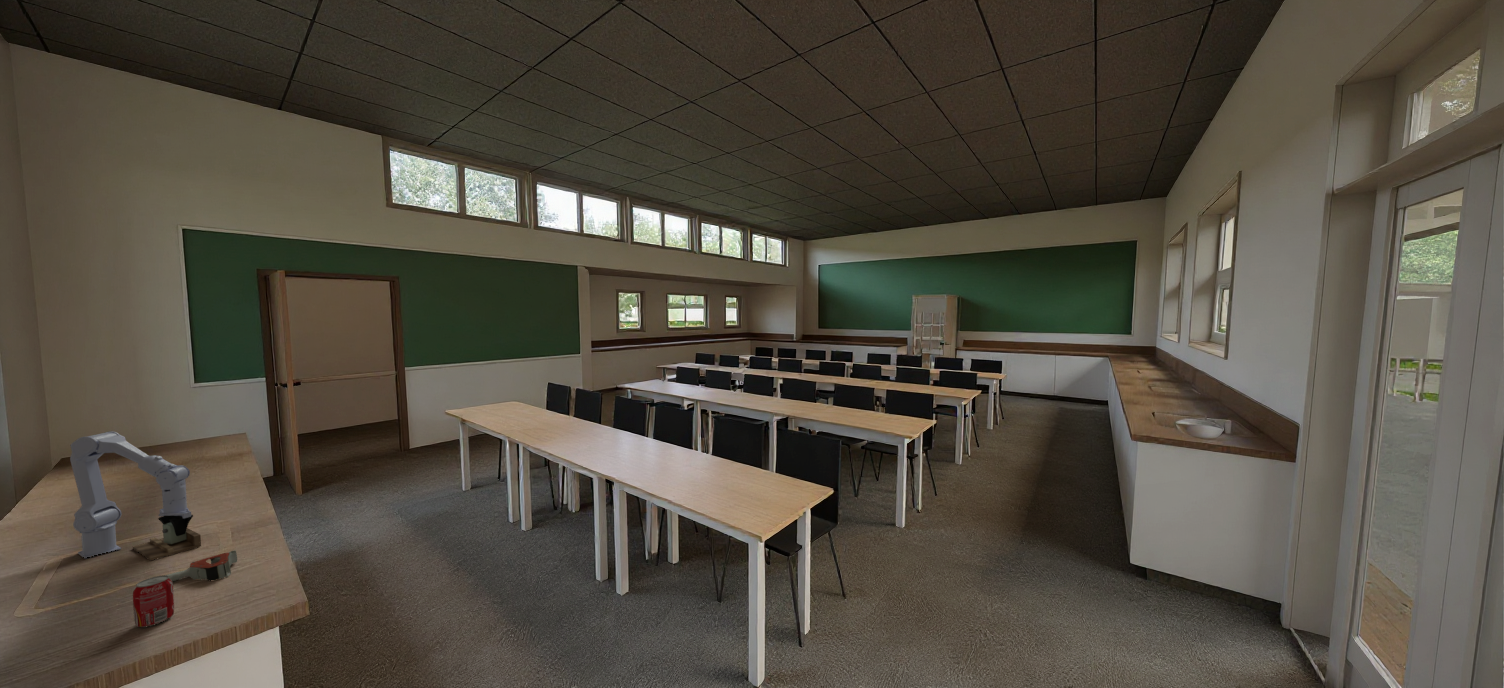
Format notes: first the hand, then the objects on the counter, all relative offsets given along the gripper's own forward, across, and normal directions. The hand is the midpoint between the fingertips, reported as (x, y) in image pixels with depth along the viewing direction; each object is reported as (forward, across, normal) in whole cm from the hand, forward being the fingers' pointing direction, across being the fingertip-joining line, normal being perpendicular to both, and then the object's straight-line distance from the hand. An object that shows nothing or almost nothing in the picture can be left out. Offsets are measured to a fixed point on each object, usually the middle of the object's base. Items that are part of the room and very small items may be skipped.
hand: (176, 534), depth 179 cm
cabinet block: (+2, 0, 0) cm, 3 cm away
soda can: (+4, +60, -31) cm, 68 cm away
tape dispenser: (+5, +39, -12) cm, 41 cm away
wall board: (+4, 0, -2) cm, 5 cm away
